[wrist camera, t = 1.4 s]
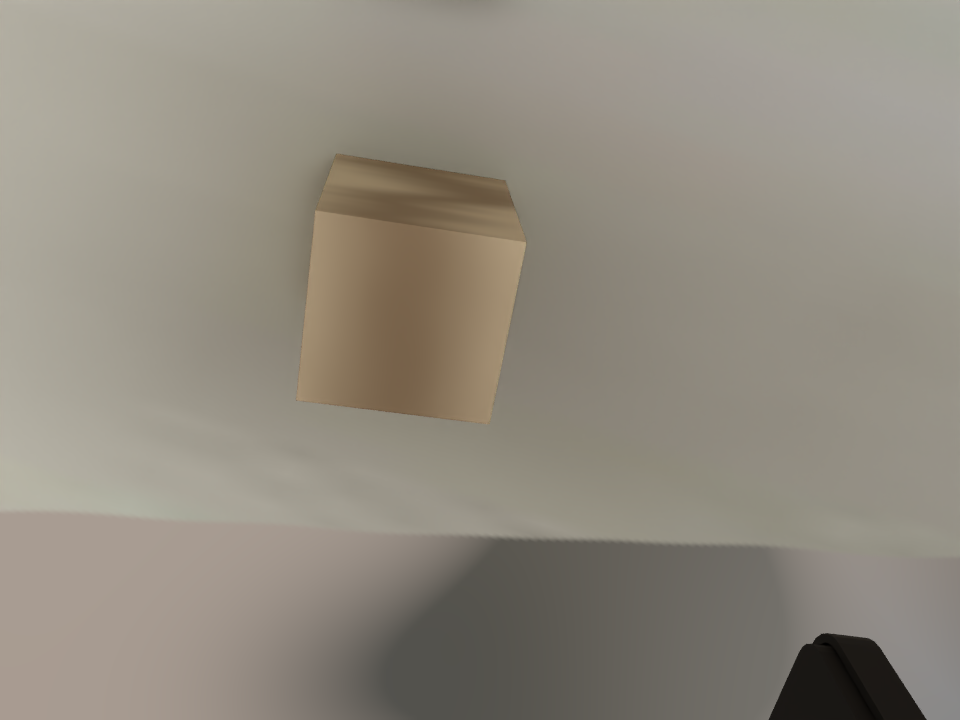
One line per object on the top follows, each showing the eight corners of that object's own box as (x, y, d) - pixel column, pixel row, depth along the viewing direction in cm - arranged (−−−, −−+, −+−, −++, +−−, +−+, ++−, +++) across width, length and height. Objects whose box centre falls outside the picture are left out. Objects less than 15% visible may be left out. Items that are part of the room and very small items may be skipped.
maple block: (504, 180, 27) (526, 242, 22) (476, 332, 29) (489, 424, 24) (336, 153, 26) (315, 210, 21) (319, 311, 28) (295, 400, 23)
